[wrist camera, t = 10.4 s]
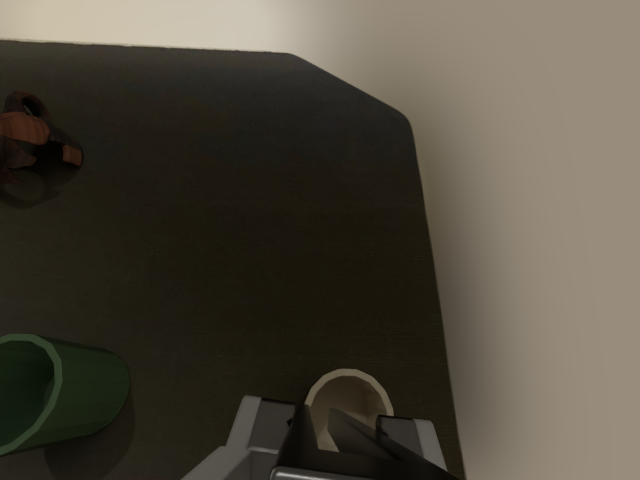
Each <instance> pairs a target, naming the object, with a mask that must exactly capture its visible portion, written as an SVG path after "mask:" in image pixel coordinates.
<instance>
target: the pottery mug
mask: <svg viewBox="0 0 640 480" xmlns="http://www.w3.org/2000/svg"><path fill="white" fill-rule="evenodd" d="M23 104H24V105H25V106H27V107H28V108H29V109H30V111H31V112H32V114H33V116H31V115H30V114H29V113H28V112H27V111H26V110H25V108H24V105H23ZM17 141H24V142H28V143H31V144H34V145H43V144H45V143H46V142H47V141H50V142H55V143H59V144H60V145H62V147H63V161H64V162H67V163H72V164H74V165H76V166H80V165H81V162H82V154H81V148H80V145H79V143H78V142H77V141H76V140H75V139H74V138H72V137H70V136H69V135H67V134H66V133H64V132H63V131H62V130H61V129H59V128H57V127H56V126H55V125H54V124H52V122H51V120H50V116H49V113H48V111H47V109H46V107H45V105H44V104H43V103H42V102H41V100H40V99H38V98H37V97H36V96H35V95H33V94H31V93H29V92H25V91H14V92H13V93H11V94H9V95H8V96H7V98H6V101H5V107H4V110H3V111H2V113H1V114H0V185H2V184H4V183H14V184H21V183H22V182H21V181H20V180H19V179H18V178H16V177H15V176H14V174H13V173H12V171H11V170H10V169H9V168H14V169H15V168H21V167H24V166H31V165H33V164H34V163H35V162H36V160H37V158H36V157H33V156H31V155H28V154H27V152H26V151H25V150H23V149H22V148H21V147H20V145H19V144H18V143H17Z"/></svg>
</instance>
